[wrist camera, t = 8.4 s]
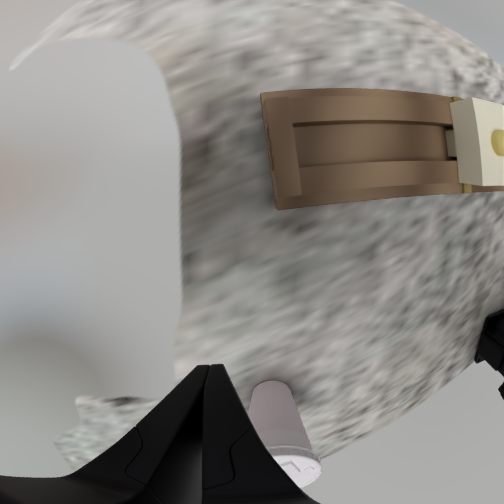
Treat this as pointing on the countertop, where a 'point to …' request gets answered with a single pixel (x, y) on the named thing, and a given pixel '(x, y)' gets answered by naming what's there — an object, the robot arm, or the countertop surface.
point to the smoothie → (283, 431)
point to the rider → (477, 141)
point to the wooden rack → (359, 146)
